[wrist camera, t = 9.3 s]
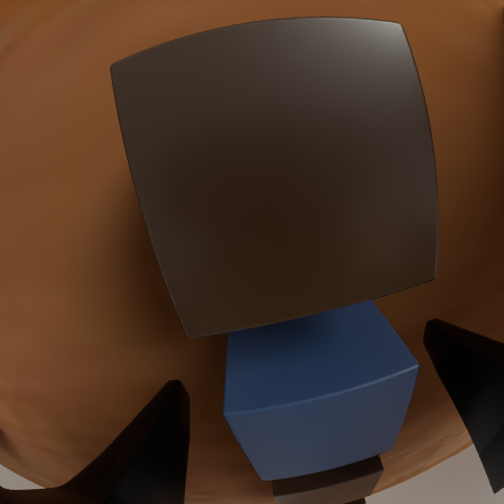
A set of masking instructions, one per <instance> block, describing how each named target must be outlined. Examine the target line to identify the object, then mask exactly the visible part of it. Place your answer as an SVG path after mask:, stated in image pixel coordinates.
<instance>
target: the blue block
mask: <svg viewBox="0 0 504 504" xmlns="http://www.w3.org/2000/svg"><path fill="white" fill-rule="evenodd" d="M418 371H419V363H418V362H417V360H416V359H415V357H414V356H413V355H412V353H411V352H410V350H409V349H408V348H407V346H406V345H405V343H404V342H403V341H402V339H401V338H400V337H399V335H398V334H397V332H396V331H395V330H394V328H393V327H392V326H391V324H390V323H389V322H388V320H387V319H386V318H385V316H384V315H383V314H382V313H381V311H380V310H379V309H378V307H377V306H376V305H375V304H374V302H373V301H372V300H369V301H365V302H362V303H358V304H355V305H351V306H347V307H343V308H340V309H336V310H332V311H328V312H324V313H320V314H316V315H312V316H307V317H303V318H299V319H294V320H290V321H285V322H281V323H276V324H271V325H266V326H261V327H256V328H251V329H246V330H241V331H235V332H229V333H228V340H227V354H226V369H225V384H224V400H223V416H224V418H225V420H226V422H227V424H228V425H229V427H230V429H231V431H232V433H233V434H234V436H235V438H236V439H237V441H238V443H239V445H240V446H241V448H242V450H243V451H244V453H245V454H246V456H247V458H248V459H249V461H250V462H251V464H252V466H253V467H254V469H255V470H256V472H257V473H258V475H259V476H260V478H261V480H262V481H268V480H276V479H283V478H290V477H295V476H301V475H306V474H311V473H316V472H320V471H324V470H329V469H333V468H336V467H340V466H344V465H347V464H351V463H354V462H357V461H361V460H364V459H367V458H370V457H373V456H375V455H378V454H381V453H384V452H386V451H389V450H391V449H393V447H394V444H395V442H396V439H397V437H398V434H399V432H400V429H401V426H402V423H403V421H404V418H405V415H406V412H407V409H408V406H409V403H410V400H411V396H412V393H413V390H414V386H415V382H416V379H417V375H418Z"/></svg>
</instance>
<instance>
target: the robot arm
mask: <svg viewBox="0 0 504 504" xmlns="http://www.w3.org/2000/svg"><path fill="white" fill-rule="evenodd" d="M423 342H424V345H425V347H426V350H427V352H428V354H429V356H430V358H431V360H432V363H433V365H434V367H435V369H436V372H437V374H438V376H439V377H440V379H441V381H442V383H443V385H444V386H445V388H446V390H447V392H448V394H449V395H450V397H451V399H452V401H453V403H454V405H455V407H456V408H457V410H458V412H459V414H460V416H461V418H462V420H463V422H464V424H465V426H466V428H467V430H468V432H469V434H470V437H471V439H472V441H473V443H474V445H475V447H476V449H477V452H478V454H479V457H480V459H481V462H482V464H483V466H484V469H485V471H486V474H487V477H488V479H489V481H490V485H491V487H492V489H493V492H494V494H495V493H497V492H498V491H499V490H500V489H502V488H504V344H503V343H501V342H498V341H495V340H493V339H490V338H487V337H485V336H482V335H479V334H477V333H474V332H471V331H469V330H466V329H464V328H461V327H458V326H456V325H453V324H450V323H448V322H445V321H442V320H440V319H437V318H435V319H432V320H429V321H427V323H426V325H425V331H424V336H423ZM189 442H190V398H189V394H188V392H187V391H186V389H185V387H184V385H183V384H182V382H181V381H180V380H170V381H168V382H167V383H166V384H165V385H164V386H163V387H162V389H161V390H160V391H159V392H158V393H157V394H156V395H155V396H154V397H153V398H152V400H151V401H150V402H149V403H148V404H147V405H146V406H145V407H144V408H143V409H142V411H141V412H140V413H139V414H138V415H137V416H136V417H135V418H134V419H133V420H132V421H131V422H130V424H129V425H128V426H127V427H126V428H125V429H124V430H123V431H122V432H121V433H120V434H119V435H118V436H117V438H116V439H115V440H114V441H113V442H112V443H111V444H110V445H109V446H108V447H107V448H106V449H105V450H104V451H103V452H102V453H101V454H100V455H99V456H98V457H97V458H96V459H95V460H94V461H93V462H91V463H90V464H89V465H88V466H87V467H86V468H84V469H83V470H82V471H81V472H80V473H78V474H77V475H76V476H75V477H73V478H72V479H71V480H70V481H68V482H67V483H65V484H64V485H61V486H59V487H54V488H45V489H31V490H10V489H5V488H3V487H1V486H0V504H184V497H185V484H186V473H187V462H188V451H189Z"/></svg>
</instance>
